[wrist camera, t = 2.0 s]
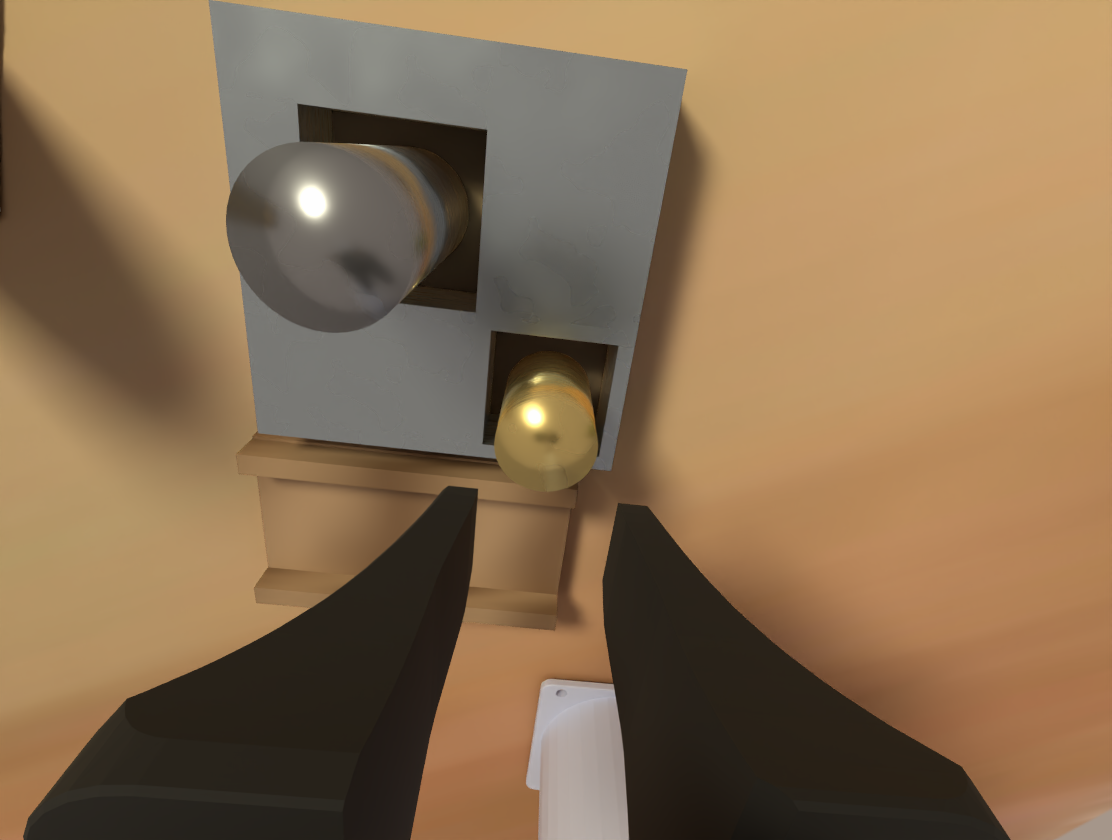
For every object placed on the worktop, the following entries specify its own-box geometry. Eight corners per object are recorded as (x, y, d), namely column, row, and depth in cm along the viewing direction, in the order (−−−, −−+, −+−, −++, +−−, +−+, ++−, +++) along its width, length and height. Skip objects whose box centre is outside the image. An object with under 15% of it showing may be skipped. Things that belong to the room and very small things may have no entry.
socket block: (669, 80, 17) (687, 69, 15) (605, 438, 22) (611, 471, 20) (257, 21, 16) (208, 0, 14) (289, 403, 21) (258, 433, 19)
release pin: (596, 356, 18) (605, 406, 15) (583, 432, 20) (589, 496, 16) (509, 346, 18) (498, 394, 15) (502, 424, 19) (490, 485, 16)
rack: (576, 457, 22) (578, 487, 20) (554, 594, 25) (554, 632, 23) (265, 424, 22) (235, 451, 20) (280, 568, 25) (256, 604, 23)
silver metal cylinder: (472, 154, 18) (414, 155, 10) (466, 270, 19) (412, 342, 12) (355, 139, 17) (214, 128, 10) (358, 257, 19) (237, 321, 12)
